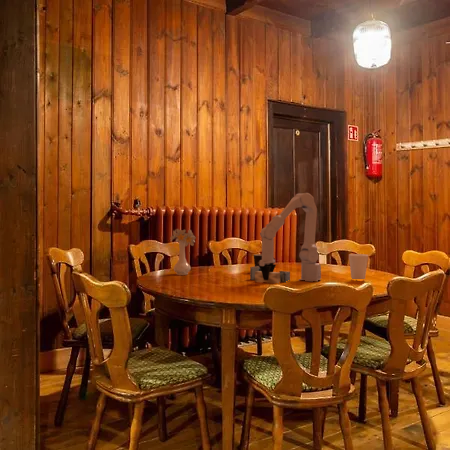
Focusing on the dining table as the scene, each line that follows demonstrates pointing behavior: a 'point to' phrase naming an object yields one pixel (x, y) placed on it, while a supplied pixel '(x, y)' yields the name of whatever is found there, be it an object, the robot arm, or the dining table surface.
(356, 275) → the foam cup
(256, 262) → the coffee mug
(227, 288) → the dining table surface
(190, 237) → the flower vase
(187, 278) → the dining table surface
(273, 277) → the light brown long block
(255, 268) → the grey rectangular block
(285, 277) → the open end cap
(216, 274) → the dining table surface
